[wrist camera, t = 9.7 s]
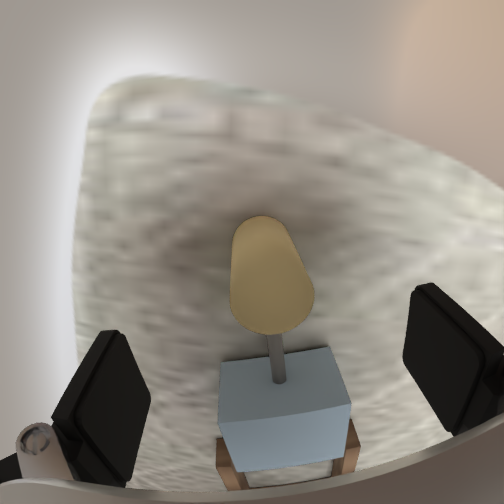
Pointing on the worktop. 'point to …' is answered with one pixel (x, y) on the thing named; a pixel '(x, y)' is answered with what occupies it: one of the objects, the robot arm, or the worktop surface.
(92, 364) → the robot arm
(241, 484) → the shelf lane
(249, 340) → the worktop surface
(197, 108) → the worktop surface
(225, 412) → the push plunger
